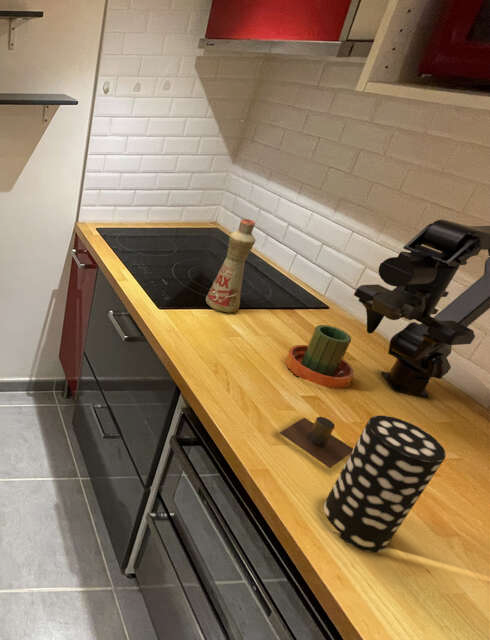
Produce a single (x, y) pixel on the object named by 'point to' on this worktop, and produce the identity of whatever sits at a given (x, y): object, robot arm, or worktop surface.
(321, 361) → the green tube
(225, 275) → the bottle
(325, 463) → the post stand
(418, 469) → the spotted tube
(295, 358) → the dish
